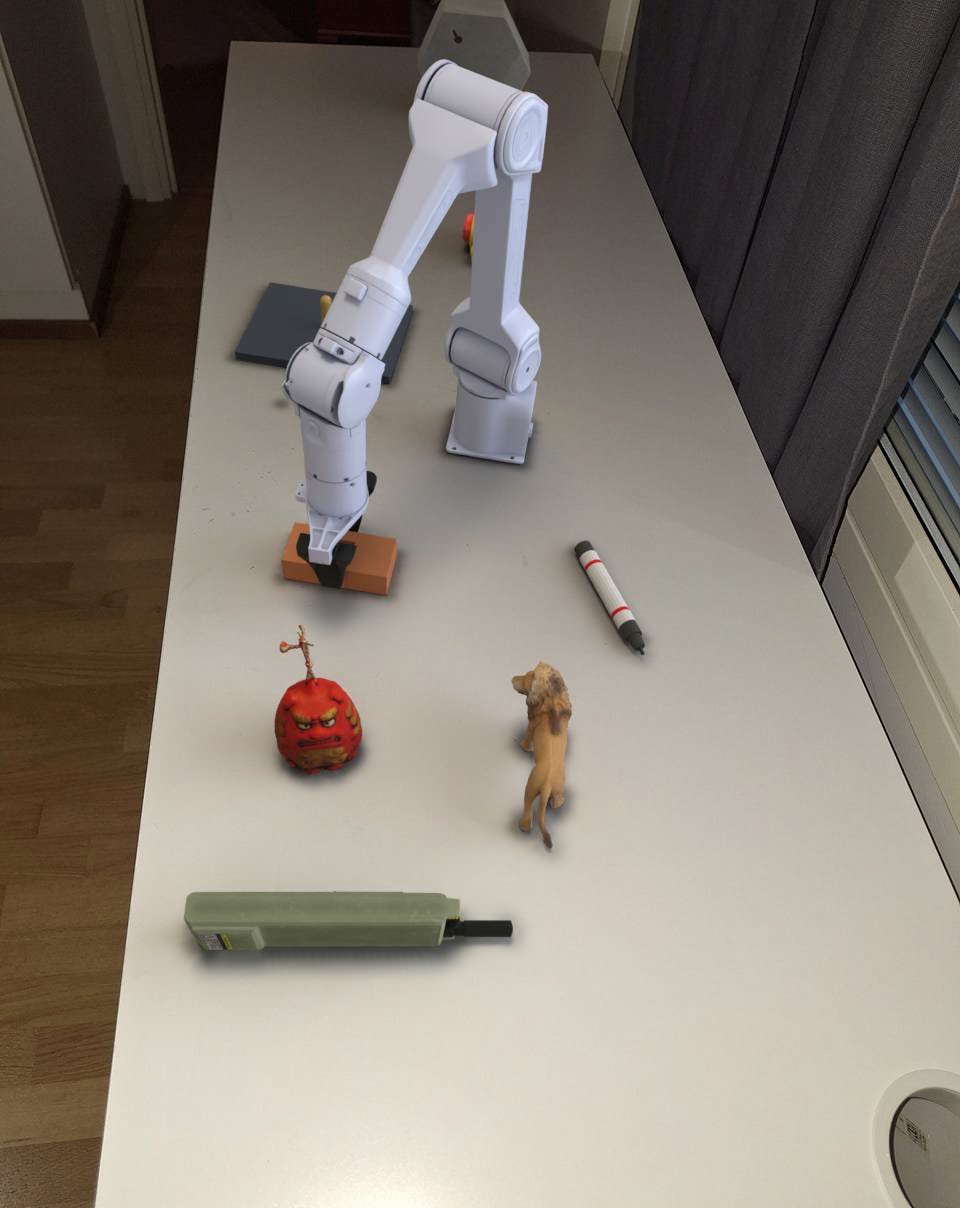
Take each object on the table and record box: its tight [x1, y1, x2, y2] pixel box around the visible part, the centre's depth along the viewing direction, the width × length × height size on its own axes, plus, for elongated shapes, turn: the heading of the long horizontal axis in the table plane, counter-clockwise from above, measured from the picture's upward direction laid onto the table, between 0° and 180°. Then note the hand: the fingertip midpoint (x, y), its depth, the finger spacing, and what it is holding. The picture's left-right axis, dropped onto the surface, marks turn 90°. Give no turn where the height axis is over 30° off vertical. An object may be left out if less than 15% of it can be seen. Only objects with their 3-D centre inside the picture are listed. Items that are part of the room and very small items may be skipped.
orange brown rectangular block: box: [280, 521, 398, 596], centre depth 95 cm, size 11×5×3 cm, turn 82°
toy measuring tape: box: [462, 213, 474, 264], centre depth 136 cm, size 6×20×7 cm, turn 166°
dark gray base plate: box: [234, 282, 414, 385], centre depth 118 cm, size 20×16×6 cm
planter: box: [416, 0, 532, 91], centre depth 156 cm, size 17×8×21 cm
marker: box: [573, 540, 646, 656], centre depth 95 cm, size 15×2×2 cm, turn 21°
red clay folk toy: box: [273, 624, 363, 776], centre depth 77 cm, size 8×7×15 cm
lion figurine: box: [510, 660, 573, 849], centre depth 80 cm, size 15×5×9 cm, turn 6°
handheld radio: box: [183, 890, 514, 951], centre depth 70 cm, size 7×3×25 cm
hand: (340, 557), depth 95 cm, fingers open, 7 cm apart
